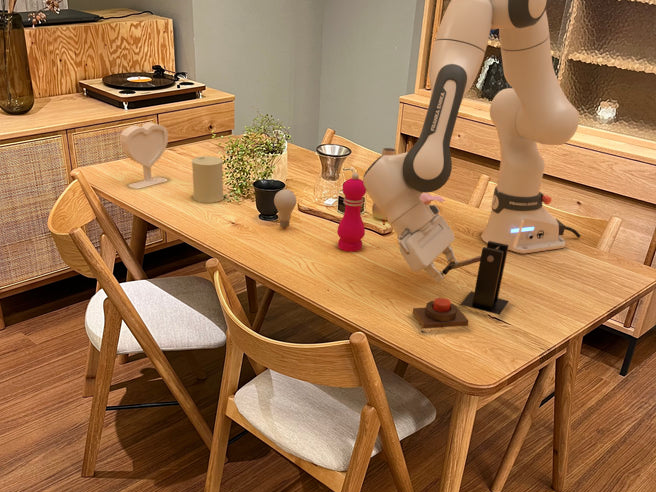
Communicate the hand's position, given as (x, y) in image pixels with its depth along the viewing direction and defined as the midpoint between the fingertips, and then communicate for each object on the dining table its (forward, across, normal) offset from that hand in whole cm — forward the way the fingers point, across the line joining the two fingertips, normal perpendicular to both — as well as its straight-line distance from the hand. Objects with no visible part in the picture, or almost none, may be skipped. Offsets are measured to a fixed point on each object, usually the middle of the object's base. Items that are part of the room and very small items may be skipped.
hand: (448, 272), depth 160 cm
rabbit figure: (-15, +56, +24) cm, 63 cm away
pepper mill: (-18, +14, +27) cm, 35 cm away
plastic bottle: (-19, +39, +28) cm, 51 cm away
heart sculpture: (-72, +25, +81) cm, 111 cm away
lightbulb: (-33, +16, +42) cm, 55 cm away
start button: (+4, -13, -1) cm, 14 cm away
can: (-55, +24, +64) cm, 88 cm away
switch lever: (+2, 0, -6) cm, 6 cm away
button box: (+7, -13, +2) cm, 15 cm away
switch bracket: (+11, 0, -2) cm, 11 cm away
